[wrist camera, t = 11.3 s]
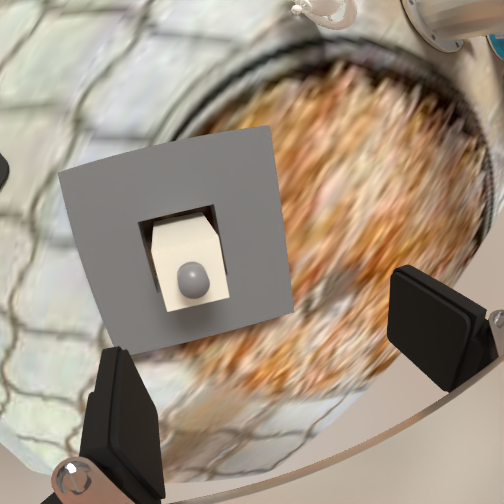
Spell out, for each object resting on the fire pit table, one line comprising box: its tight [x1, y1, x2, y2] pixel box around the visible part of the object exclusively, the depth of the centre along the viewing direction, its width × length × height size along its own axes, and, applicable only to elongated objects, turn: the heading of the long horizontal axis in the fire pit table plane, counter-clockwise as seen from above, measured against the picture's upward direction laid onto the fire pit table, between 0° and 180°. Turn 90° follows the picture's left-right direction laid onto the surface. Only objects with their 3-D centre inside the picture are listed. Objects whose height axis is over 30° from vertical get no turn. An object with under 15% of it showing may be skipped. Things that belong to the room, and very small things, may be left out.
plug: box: [151, 212, 229, 312], centre depth 25 cm, size 4×4×10 cm
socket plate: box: [58, 125, 294, 355], centre depth 28 cm, size 18×18×3 cm
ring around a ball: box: [291, 0, 357, 30], centre depth 21 cm, size 8×6×8 cm
